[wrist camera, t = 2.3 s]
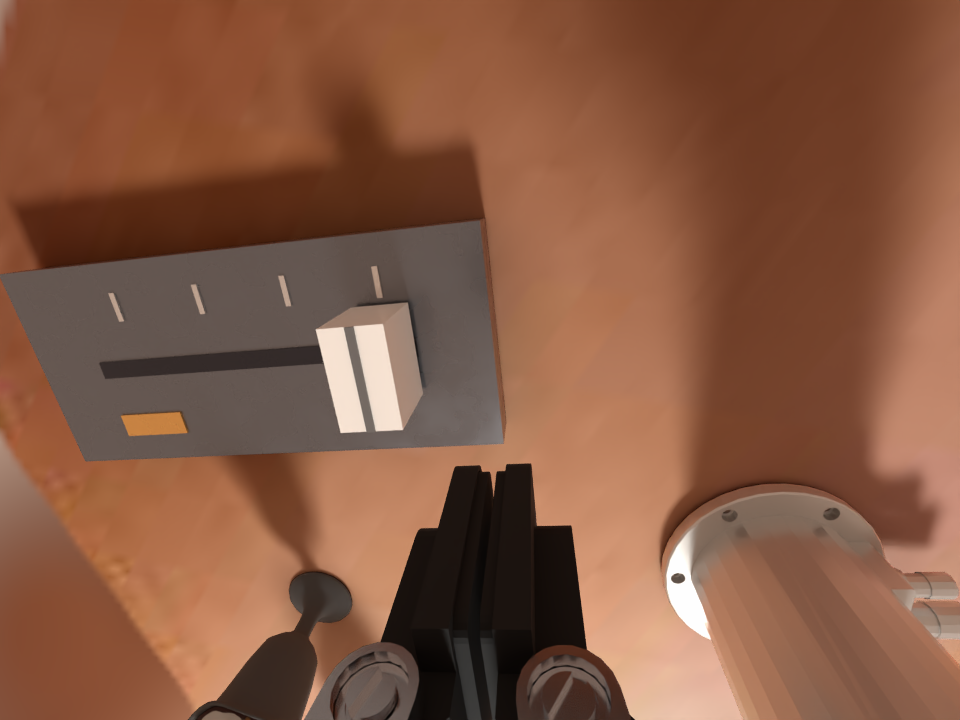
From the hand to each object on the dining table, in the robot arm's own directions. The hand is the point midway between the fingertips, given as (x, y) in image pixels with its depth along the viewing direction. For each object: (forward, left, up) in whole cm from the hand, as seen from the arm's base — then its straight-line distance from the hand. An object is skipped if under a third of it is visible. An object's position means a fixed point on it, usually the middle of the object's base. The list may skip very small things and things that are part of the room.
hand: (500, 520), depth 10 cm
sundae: (+17, +20, -17) cm, 31 cm away
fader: (+7, 0, -13) cm, 15 cm away
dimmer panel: (+15, 0, -16) cm, 22 cm away
